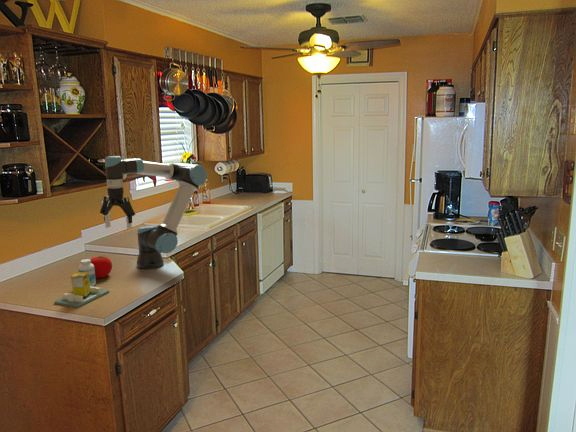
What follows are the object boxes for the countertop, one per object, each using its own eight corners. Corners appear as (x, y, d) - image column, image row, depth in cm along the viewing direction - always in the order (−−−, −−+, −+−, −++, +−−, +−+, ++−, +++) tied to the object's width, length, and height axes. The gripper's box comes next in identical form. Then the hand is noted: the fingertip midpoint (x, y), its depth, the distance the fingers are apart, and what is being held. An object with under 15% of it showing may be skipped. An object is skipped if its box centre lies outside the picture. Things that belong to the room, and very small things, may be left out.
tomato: (81, 278, 250) (79, 258, 248) (102, 271, 262) (100, 251, 260) (98, 282, 245) (96, 261, 242) (118, 274, 257) (116, 254, 254)
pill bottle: (80, 284, 242) (77, 259, 239) (95, 282, 245) (93, 257, 242) (80, 288, 235) (77, 263, 232) (95, 286, 238) (93, 261, 235)
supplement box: (91, 293, 227) (88, 271, 224) (86, 298, 221) (83, 276, 218) (78, 293, 226) (76, 272, 224) (73, 298, 221) (70, 276, 218)
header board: (86, 288, 235) (86, 280, 234) (109, 292, 230) (108, 283, 229) (54, 303, 217) (53, 294, 216) (77, 307, 212) (76, 298, 211)
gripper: (90, 187, 236) (94, 227, 240) (130, 189, 227) (133, 232, 232) (101, 185, 243) (104, 224, 247) (140, 187, 234) (143, 228, 238)
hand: (118, 228), depth 239 cm, fingers open, 13 cm apart
